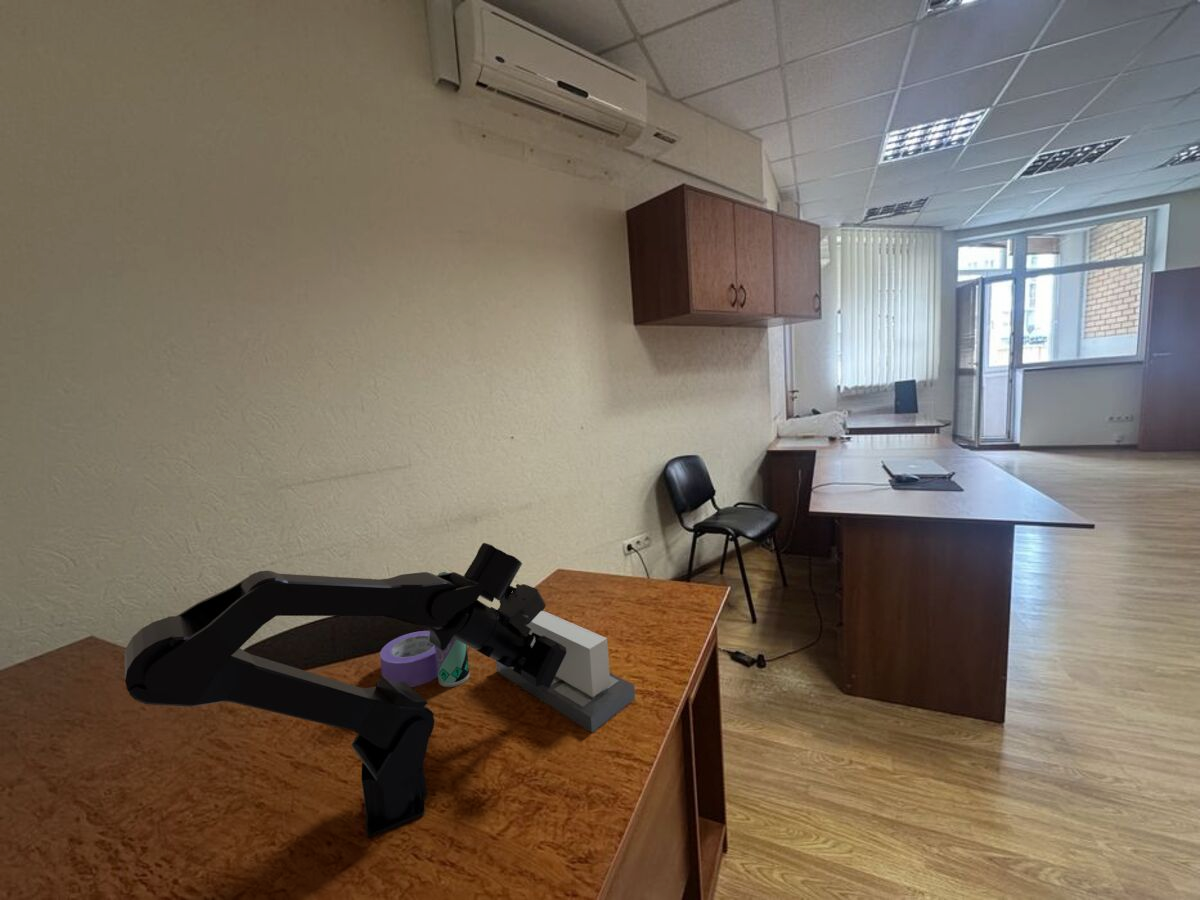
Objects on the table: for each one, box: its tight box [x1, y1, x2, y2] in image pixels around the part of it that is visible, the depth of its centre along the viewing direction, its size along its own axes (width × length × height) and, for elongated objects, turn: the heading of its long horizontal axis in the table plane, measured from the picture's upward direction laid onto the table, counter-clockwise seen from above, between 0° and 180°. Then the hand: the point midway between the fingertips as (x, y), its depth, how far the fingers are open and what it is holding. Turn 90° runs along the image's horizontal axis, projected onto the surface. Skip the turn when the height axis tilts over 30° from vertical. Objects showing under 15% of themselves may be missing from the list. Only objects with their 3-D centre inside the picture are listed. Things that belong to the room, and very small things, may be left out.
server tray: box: [495, 660, 636, 734], centre depth 82 cm, size 10×25×3 cm, turn 46°
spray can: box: [435, 571, 471, 688], centre depth 85 cm, size 6×6×20 cm
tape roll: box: [379, 630, 438, 688], centre depth 89 cm, size 12×12×5 cm
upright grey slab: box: [526, 610, 611, 697], centre depth 81 cm, size 22×4×8 cm, turn 46°
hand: (547, 664), depth 76 cm, fingers closed
